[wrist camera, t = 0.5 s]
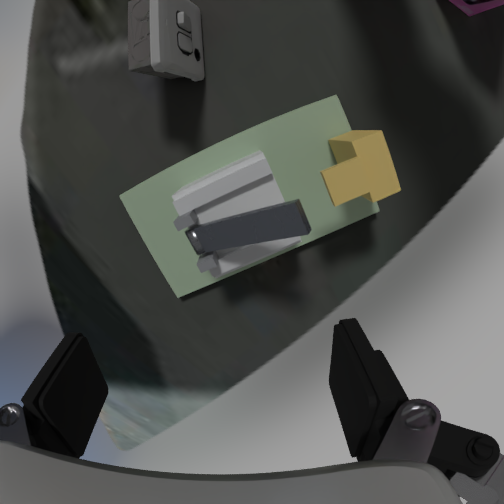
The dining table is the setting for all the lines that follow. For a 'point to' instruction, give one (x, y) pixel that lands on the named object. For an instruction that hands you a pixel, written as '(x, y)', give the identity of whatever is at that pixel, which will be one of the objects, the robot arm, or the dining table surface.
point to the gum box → (476, 5)
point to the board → (288, 169)
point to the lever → (250, 228)
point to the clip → (360, 168)
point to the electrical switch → (165, 39)
